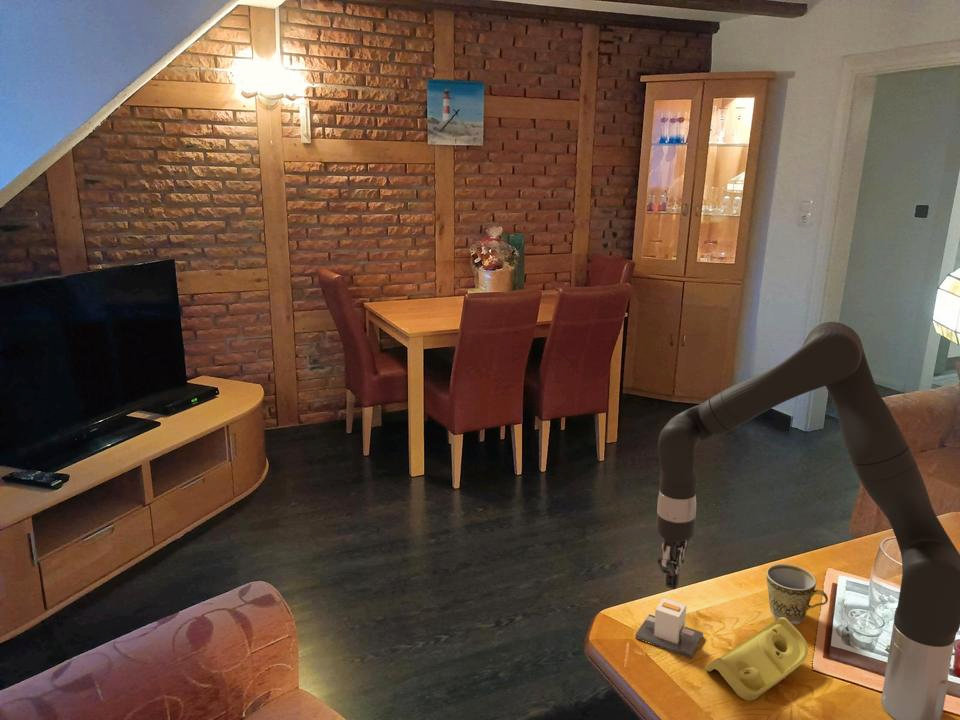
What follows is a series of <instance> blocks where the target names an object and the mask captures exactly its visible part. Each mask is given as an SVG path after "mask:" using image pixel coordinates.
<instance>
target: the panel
mask: <svg viewBox="0 0 960 720" xmlns="http://www.w3.org/2000/svg"><path fill="white" fill-rule="evenodd" d="M654 629H655V615H652V614H648V615H647V617H646V618H645V620H644V621H643V623H642V624H641V625H640V627H639V629H638V630H637V632H636V633H635V639H637V638H639V639H641V640H640V641H642V640H644V641H643V642H645V641H647V642H650V643H652V644H651V645H653V644H654V645H653V646H656V645H657V646H656V647H658V646H660V647H659V648H661V647H662V648H661V649H664V650H667V651H669V652H673V653H676V654H678V655H680V656H683V657H686V658H687V659H692V658H693V656H694V655H695V653H696V651H697V649H698V647H699V645H700V643H701V641H702V639H703V638H704V632H702V631H699V630H696V629H694V628H690V627H688V626H685V628H683V627H682V628H681V629H680V631H679V642H678V644H676V643H673V642H670V641H668V640H665V639H662V638H659V637H656V636H654ZM639 639H638V640H639ZM647 642H646V643H647ZM650 643H649V644H650Z"/></svg>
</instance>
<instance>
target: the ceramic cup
mask: <svg viewBox="0 0 960 720" xmlns="http://www.w3.org/2000/svg"><path fill="white" fill-rule="evenodd" d="M766 584H767V590H768V601H769V608H770V609H769V612H770V613H771V616H772V617H773V619H774V620H775V621H776V620H777V619H779V618H781V617H784V618H786V619H788V620H789V622H790V623H791V624H792V625H795V626H797V625H800V624H801V623H802V622H803V621H804V619H805V617H806V614H807V612H808V610H810V609H813V608H816V607H820V606H824V605H827V603H828V602H829V597H828V595H827V593H826V592H824V591H823V590H820V589H816V585H817V579H816V577H815V576H814V575H813V574H812V573H811V572H810V571H809V570H807V569H805V568H803V567H801V566H798V565H795V564H794V565H793V564H789V563H777V564H773V565H771V566H770V567H768V568H767V570H766ZM815 595H821V597H822V596H823V598H825V600H824V602H819V603H814V604H813V605H810V603H811V600H812V597H813V596H815Z"/></svg>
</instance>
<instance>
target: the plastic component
mask: <svg viewBox="0 0 960 720" xmlns="http://www.w3.org/2000/svg"><path fill="white" fill-rule="evenodd" d="M808 655H809V647H808V643H807V641H806V638H804V636H803V634H802V633H801V632H800V631H799V630H798V628H796V627H795V625H794V624H791V623H790V622H789V620H788V619H786V618H784V617H781V618H779V619H777V620H776V619H775V620H774V621H773V622H771V623H770V624H768V625H767V626H765V627H764V628H762V629H761V630H759V631H758V632H756V633H755V634H753V635H752V636H750V637H749V638H747V639H746V640H744V641H743V642H741V643H739V645H738V644H737V646H735V647H734V648H732V649H730V650H729V651H727V652H726V653H724V654H723V655H721V656H719V657H717V658H716V659H714V660H712V661H711V662H710V663H708V664H707V665H706V666H704V668H705V670H706V671H707V672H712V671H714V670H716V671H718V673H719V674H720V675H721V677H723V679H724V681H726V683H727V684H728V685H729V686H730V687H731V689H732V690H733V691H734V692H735V693H736V694H737V696H738V697H739V698H741V699H742V700H745V701H750V702H751V701H755V700H757V699H758V698H759V697H760V696H762V695H763V694H765V693H766V692H767V691H769V690H770V689H772V687H774V686H776V685H777V684H778V683H780V682H782V681H783V680H784V679H786V678H787V676H789V675H790V674H791V673H793V672H794V671H796V670H797V668H799V666H801V665H802V664H803V663H804V662H805V661H806V659H807V658H808Z"/></svg>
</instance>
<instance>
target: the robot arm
mask: <svg viewBox="0 0 960 720" xmlns="http://www.w3.org/2000/svg"><path fill="white" fill-rule="evenodd" d="M823 387H825V388H826V390H827V391H828V393H829V396H830V398H831V399H832V402H833V405H834V407H835V410H836V415H837V418H838V422H839V423H838V424H839V428H840V431H841V436H842V438H843V442H844V446H845V449H846V451H847V455H848V457H849V459H850V462H851V464H852V466H853V468H854V471H855V472H856V475H857V478H858V479H859V481H860V483H861V485H862V486H863V489H864V490H865V491H866V493H867V494H868V496H869V497H870V498H871V499H872V501H873V502H874V503H875V504H876V505H877V506H878V508H879V509H880V510H881V511H882V512H883V514H884V516H885V517H886V519H887V520H888V522H889V525H890V526H891V529H892V531H893V533H894V537H895V539H896V542H897V544H898V548H899V552H900V557H901V563H902V565H901V567H902V568H901V569H902V570H901V573H902V575H901V582H900V589H899V594H898V601H897V607H896V608H895V610H894V618H893V625H892V630H891V636H890V642H889V650H888V655H887V661H886V668H885V673H884V679H883V680H884V681H883V686H882V692H881V699H880V700H881V705H882V707H883V709H884V711H886V713H887V714H888V715H889V716H890V717H892V718H893V719H894V720H942V718H943V713H944V708H945V702H946V697H947V692H948V685H949V684H948V683H949V682H948V681H949V672H950V667H951V662H952V658H953V657H952V655H953V651H954V646H955V642H956V635H957V633H958V632H959V629H960V552H959V551H958V549H957V548H956V545H955V544H954V543H953V541H952V539H951V538H950V536H949V535H948V533H947V532H946V530H945V528H944V527H943V525H942V523H941V522H940V520H939V518H938V517H937V515H936V513H935V510H934V508H933V505H932V503H931V500H930V497H929V493H928V490H927V486H926V484H925V482H924V478H923V476H922V473H921V471H920V469H919V467H918V464H917V461H916V459H915V457H914V455H913V452H912V450H911V448H910V446H909V444H908V442H907V440H906V438H905V436H904V435H903V432H902V431H901V428H900V427H899V425H898V423H897V421H896V419H895V417H894V415H893V414H892V412H891V410H890V409H889V407H888V406H887V403H886V402H885V401H884V399H883V397H882V395H881V393H880V391H879V390H878V387H877V385H876V383H875V379H874V378H873V374H872V372H871V368H870V367H869V362H868V360H867V357H866V353H865V350H864V346H863V344H862V340H861V338H860V336H859V334H858V333H857V332H856V331H855V330H854V329H853V328H852V327H850V326H848V325H846V324H845V323H841V322H838V321H826V322H822V323H820V324H818V325H817V326H815V327H813V329H812V330H810V332H809V333H808V334H807V336H806V338H805V340H804V342H803V344H802V346H801V347H800V348H798V349H797V350H796V351H794V353H792V354H791V355H790V356H788V357H787V358H786V359H784V360H783V361H781V362H780V363H778V364H777V365H775V366H774V367H772V368H771V369H768V370H766V371H765V372H762V373H760V374H758V375H754V376H753V377H751V378H748V379H744V380H741V381H740V382H738V383H735V384H734V385H731V386H729V387H728V388H726V389H724V390H722V391H720V392H718V393H717V394H715V395H713V396H711V397H710V398H709V399H707V400H705V401H704V402H703V403H701V404H698V405H694V406H693V407H690V408H688V409H686V410H683V411H681V412H679V413H678V414H676V415H675V416H673V417H671V418H670V420H669V421H668V422H667V423H666V425H665V426H664V427H663V428H662V429H661V431H660V433H659V437H658V443H657V451H658V452H657V453H658V463H659V466H660V475H659V490H658V496H657V508H656V526H655V528H656V532H657V534H658V535H659V536H660V537H661V538H663V541H662V542H661V549H662V557H659V558H658V559H657V564H658V566H659V568H660V571H661V573H663V574H666V575H665V587H666V588H669V589H672V590H676V589H677V588H678V586H679V582H680V581H679V579H680V571H681V570H682V565H683V564H684V562H685V557H686V555H687V549H688V547H689V546H688V545H689V543H690V542H689V541H690V539H692V538H693V537H694V536H695V530H696V529H695V528H696V518H697V517H696V515H697V497H696V495H697V493H696V492H697V469H696V467H695V466H694V463H695V462H694V461H695V458H694V457H695V451H696V448H697V446H698V445H699V444H700V443H701V442H703V441H705V440H706V439H709V438H710V437H712V436H714V435H717V436H721V435H724V434H726V433H728V432H731V431H733V430H735V429H736V428H738V427H740V426H742V425H744V424H745V423H748V422H749V421H751V420H753V419H755V418H756V417H758V416H760V415H761V414H763V413H765V412H767V411H769V410H771V409H772V408H775V407H777V406H779V405H781V404H783V403H785V402H787V401H790V400H791V399H793V398H794V399H795V398H796V397H798V396H801V395H804V394H806V393H808V392H811V391H814V390H817V389H820V388H823Z"/></svg>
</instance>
